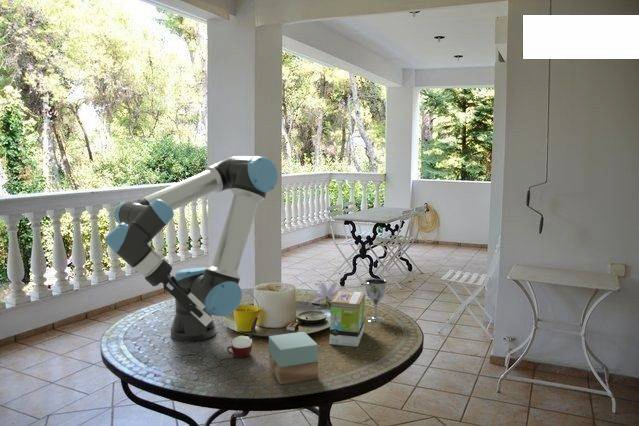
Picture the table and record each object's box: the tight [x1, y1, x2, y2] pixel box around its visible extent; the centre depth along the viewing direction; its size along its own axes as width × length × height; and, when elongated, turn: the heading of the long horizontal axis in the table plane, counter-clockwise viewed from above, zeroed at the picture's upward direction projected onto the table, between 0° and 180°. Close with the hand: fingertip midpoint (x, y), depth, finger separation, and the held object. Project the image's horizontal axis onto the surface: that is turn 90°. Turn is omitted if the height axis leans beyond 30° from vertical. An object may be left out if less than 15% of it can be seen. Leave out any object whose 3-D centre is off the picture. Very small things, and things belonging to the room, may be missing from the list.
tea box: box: [329, 290, 366, 348], centre depth 173 cm, size 15×10×15 cm
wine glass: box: [365, 278, 388, 324], centre depth 193 cm, size 8×8×15 cm
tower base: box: [269, 354, 319, 385], centre depth 146 cm, size 11×11×5 cm
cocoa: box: [226, 315, 258, 359], centre depth 158 cm, size 10×6×12 cm, turn 87°
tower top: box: [268, 331, 319, 367], centre depth 146 cm, size 11×11×5 cm
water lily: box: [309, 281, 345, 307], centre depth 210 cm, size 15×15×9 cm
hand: (205, 316), depth 152 cm, fingers open, 13 cm apart
